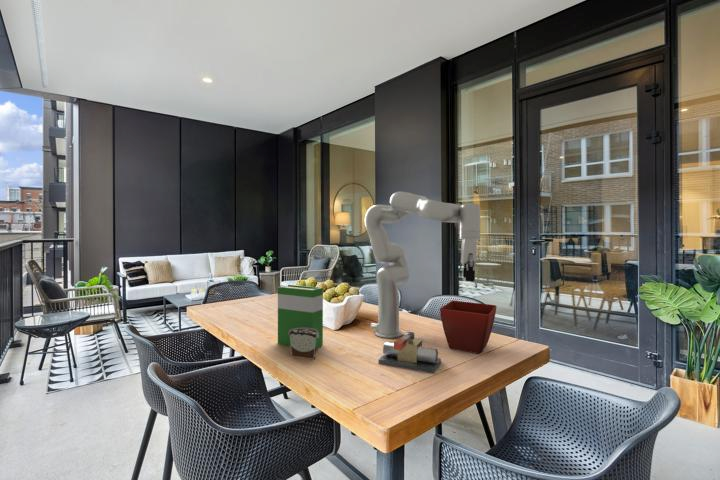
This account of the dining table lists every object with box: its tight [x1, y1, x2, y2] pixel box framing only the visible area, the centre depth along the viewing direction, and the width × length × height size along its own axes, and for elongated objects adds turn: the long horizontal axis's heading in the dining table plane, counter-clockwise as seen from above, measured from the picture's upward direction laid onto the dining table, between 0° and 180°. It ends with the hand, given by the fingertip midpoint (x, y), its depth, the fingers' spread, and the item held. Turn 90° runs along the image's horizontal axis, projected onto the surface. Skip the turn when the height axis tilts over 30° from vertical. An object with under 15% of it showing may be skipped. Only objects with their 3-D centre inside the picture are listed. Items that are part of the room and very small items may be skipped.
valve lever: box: [394, 331, 415, 350], centre depth 124 cm, size 15×3×2 cm, turn 154°
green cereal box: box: [277, 284, 324, 349], centre depth 151 cm, size 18×7×24 cm, turn 63°
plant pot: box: [439, 300, 497, 354], centre depth 148 cm, size 19×19×17 cm
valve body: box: [378, 338, 442, 374], centre depth 130 cm, size 20×11×9 cm, turn 64°
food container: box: [288, 327, 319, 360], centre depth 137 cm, size 12×6×10 cm, turn 71°
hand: (468, 279), depth 140 cm, fingers open, 9 cm apart
